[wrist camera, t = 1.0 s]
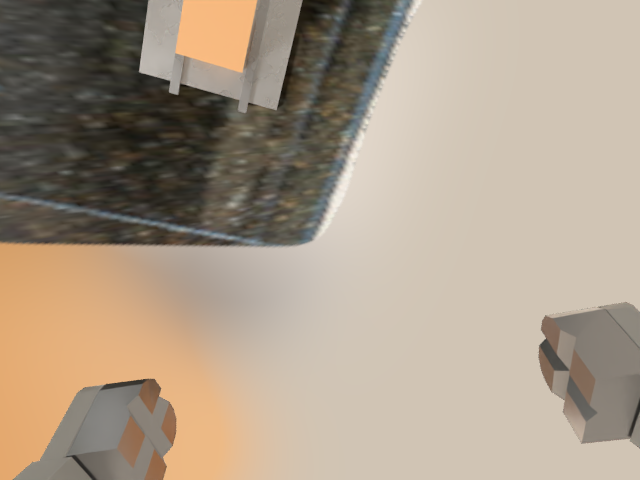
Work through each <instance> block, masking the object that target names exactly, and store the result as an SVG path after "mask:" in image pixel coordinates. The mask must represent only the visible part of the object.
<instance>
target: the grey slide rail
mask: <svg viewBox="0 0 640 480" xmlns="http://www.w3.org/2000/svg"><path fill="white" fill-rule="evenodd" d="M301 5H302V0H257V4H256V9H255V14H254V19H253V24H252V28H251V33H250V38H249V43H248V48H247V53H246V57H245V62H244V67H243V72H242V73H241V72H237V71H234V70H231V69H227V68H224V67H220V66H217V65H214V64H210V63H207V62H203V61H200V60H197V59H193V58H190V57H187V56H183V55H180V54H176V53H175V51H176V44H177V38H178V32H179V25H180V19H181V13H182V6H183V0H149V2H148V10H147V17H146V25H145V32H144V39H143V47H142V54H141V62H140V69H139V72H141V73H145V74H148V75H152V76H155V77H159V78H163V79H166V80H170V81H171V83H170V89H169V93H173V94H177V95H178V94H179V90H180V84H184V85H188V86H191V87H195V88H199V89H202V90H206V91H209V92H213V93H216V94H220V95H224V96H227V97H231V98H234V99H238V100H240V101H239V106H238V111H240V112H243V113H246V110H247V106H248V102H249V103H252V104H256V105H260V106H263V107H267V108H270V109H274V110H277V106H278V102H279V97H280V93H281V89H282V85H283V81H284V76H285V72H286V68H287V64H288V60H289V55H290V51H291V47H292V43H293V38H294V34H295V30H296V26H297V22H298V17H299V13H300V9H301Z"/></svg>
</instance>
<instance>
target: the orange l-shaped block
mask: <svg viewBox="0 0 640 480" xmlns="http://www.w3.org/2000/svg"><path fill="white" fill-rule="evenodd" d="M256 4H257V0H183V6H182V13H181V19H180V25H179V32H178V38H177V44H176V51H175V53H176V54H180V55H183V56H187V57H190V58H193V59H197V60H200V61H203V62H207V63H210V64H214V65H217V66H220V67H224V68H227V69H231V70H234V71H237V72H241V73H242V72H243V67H244V62H245V57H246V53H247V48H248V43H249V38H250V33H251V28H252V24H253V19H254V14H255V9H256Z"/></svg>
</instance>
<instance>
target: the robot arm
mask: <svg viewBox="0 0 640 480" xmlns="http://www.w3.org/2000/svg"><path fill="white" fill-rule="evenodd" d="M541 331H542V332H543V334H544V335H545V337H546V339H545V340H544V341H543V342H542V343H541V344H540V346H539V361H540V367H541V371H542V374H543V376H544V378H545V381H546V383H547V385H548V386H549V388H550V390H551V392H552V393H554V394H556V395H557V396H559V397H560V398H562V399H563V400H565V402H564V409H563V413H564V415H565V416H566V418H567V420H568V421H569V423H570V425H571V426H572V428H573V430H574V432H575V433H576V435H577V437H578V439H579V440H580V442H581V444H582V443H592V442H602V441H611V440H621V439H630V441H631V442H632V443H633V444H635V445H636V446H637V447H639V448H640V312H639V311H638V310H637V309H636V308H635V307H634V306H633V305H631V304H629V303H627V302H624V303H619V304H612V305H606V306H600V307H593V308H587V309H581V310H576V311H569V312H563V313H557V314H552V315H546V316H545V317H544V319H543V320H542V326H541ZM160 391H161V388H160V386H159V385H158V383H157V382H156V380H155V379H143V380H136V381H128V382H120V383H112V384H106V385H100V386H93V387H85V388H83V389H82V390H80V391H79V392H78V393H77V394H76V396H75V397H74V400H73V401H72V403H71V405H70V407H69V408H68V410H67V412H66V414H65V416H64V417H63V420H62V421H61V423H60V425H59V427H58V428H57V430H56V432H55V434H54V436H53V437H52V439H51V441H50V443H49V445H48V446H47V449H46V450H45V452H44V454H43V456H42V457H41V459H40V461H37V462H32V463H31V464H30V465H29V466H28V467H26V468H25V469H24V470H23V471H22V472H21V473H20V474H19V475H18V476H16V477H15V478H14V479H13V480H163V478H164V474H165V471H166V467H167V466H166V464H165V462H164V459H163V456H164V455H165V454H166V453H167V452H168V451H169V450H170V448H171V447H172V446H173V442H174V439H175V435H176V416H175V413H174V409H173V407H172V405H171V404H170V402H169V401H167V400H165V399H163V398H161V397H159V394H160Z"/></svg>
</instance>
